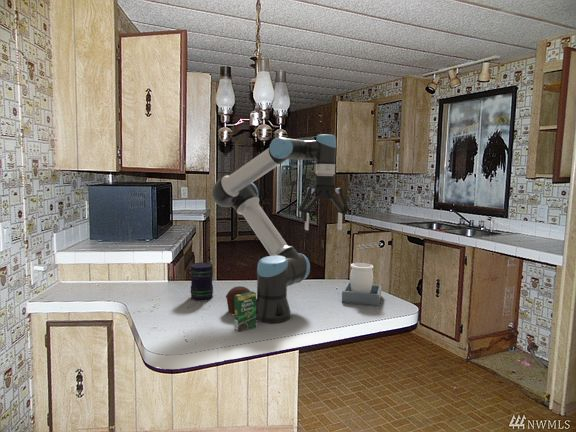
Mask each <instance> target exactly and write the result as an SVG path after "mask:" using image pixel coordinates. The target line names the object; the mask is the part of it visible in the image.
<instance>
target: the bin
mask: <svg viewBox="0 0 576 432" xmlns="http://www.w3.org/2000/svg"><path fill="white" fill-rule="evenodd" d="M381 298H382V285H380V284H372V288H371V291H370V293H360V292H352V290H351V283H350V281H347V282H346V283H345V286H344V287H343V289H342V291H341V303H343V304H344V303H346V304H353V305H354V304H355V305H361V306H371V307H379V306H380V302H381Z"/></svg>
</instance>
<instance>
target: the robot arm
mask: <svg viewBox="0 0 576 432" xmlns="http://www.w3.org/2000/svg"><path fill="white" fill-rule="evenodd" d="M336 150H337V137H336V136H335V135H334V134H327V133H326V134H317V135H316V140H315V139H313V140H303V139H295V138H294V139H293V138H289V137H288V138H287V137H285V136H284V137H275V138H274V139H272V140H271V142H270V144H269V147H268V148H266V149H265V150H264V151H262V152H261V153H260V154H258V155H256V156H255V157H254V158H253V159H251V160H250V161H248V162H247V163H245V164H244V165H242V166H241V167H239V168H238V169H236V170H235V171H233V172H232V173H231V174H229V175H224V176H223V177H221V178H219V179H218V180H217V181H216V182H215V183H214V185H213V186H212V189H211V197H212V199H213V201H214V203H215V204H216V205H218V206H220V207H222V208H233V209H234V211H235V212H236V214H238V215H239V216H240V215H242V216H243V217H244V219H245V221H246V222H247V224H248V225H249V226H250V228H251V229H252V231H253V232H254V234H255V235H256V237H257V238H258V239H259V241H260V242H261V244H262V245H263V247H264V248H265V250H266V251H267V253H268V255H269V256H267V255H266V256H264V257H262V258H260V259H259V260H258V262H257V268H256V276H257V277H256V282H257V283H256V284H257V285H256V322H260V323H265V324H279V323H284V322H287V321H289V320H290V319H291V317H292V316H291V314H292V312H291V308H290V304H289V301H288V297H287V295H288V290H287V289H288V287H289V286H292V285H295V284H299V283H301V282H302V281H304V280H305V279H306V278H307V277H308V276H309V274H310V272H311V264H310V263H311V262H310V260H309V259H308V257H307V256H306V255H305V254H303V253H300V252H298V251H297V250H296V249H295V247H294V246H293V245H288V244H287V242H286V241H285V239H284V238H283V237H282V235H281V233H280V232H279V231H278V229H277V228H276V227H275V226H274V224H273V222H272V221H271V220H270V218H269V217H268V215H267V214H266V213H265V211H264V209H263V208H262V206H261V205H260V198H259V190H258V186H256V184H255V183H254V182H255V181H257V180H258V179H260V178H261V177H263V176H264V175H266V174H267V173H269V172H270V171H272V170H273V169H275V168H276V167H278V166H279V165H281V164H282V163H284V162H286V161H287V160H296V161H302V160H303V161H308V160H312V161H315V174H314V175H315V176H314V177H315V179H314V182H315V183H314V187H313V188H312V187H307V188H306V191H305V195H304V197H303V199H302V201H301V203H300V205H299V206H298V209H297V210H298V212H301V213H302V221H303V222H304V230H305V231H309V226H310V225H309V223H310V213H308V212H309V211H310V210H311V209H312V208H313V206H314V205H316V203H317V202H318V201H319V200H330V201H331V202H332V203H333V205H334V206H335V207H336V208H337V211H339V212H338V213H337V230H339V231H342V229H343V222H344V221H345V214H346V213H347V212H350V208H349V205H348V204H347V201H346V198H345V196H344V194H343V188H342V187H337V188H335V183H336V182H335V181H336V179H335V178H336V176H334V175H336V156H337V154H336V153H337V152H336ZM313 193H314V194H315V195H314V196H313V197H312V199H311V200H310V201H309V199H310V197H311V195H312V194H313ZM335 193H336V194H337V196H338V198H339V201H340V203H341V204H340V203H339V201H338V200H337V199H336V197H335V195H334V194H335ZM308 201H309V202H308Z"/></svg>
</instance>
